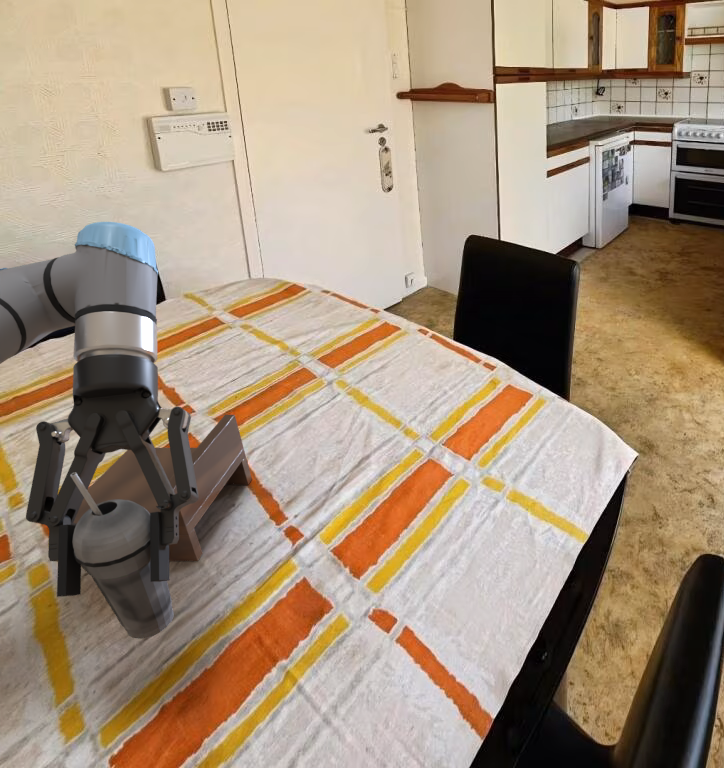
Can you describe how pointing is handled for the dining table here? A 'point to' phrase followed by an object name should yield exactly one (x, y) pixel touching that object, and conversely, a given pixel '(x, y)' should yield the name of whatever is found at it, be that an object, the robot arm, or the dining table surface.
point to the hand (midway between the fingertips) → (115, 587)
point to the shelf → (212, 471)
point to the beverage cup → (122, 563)
